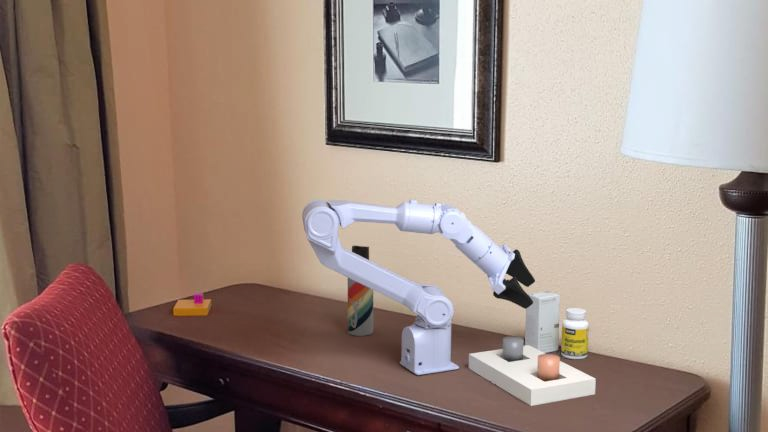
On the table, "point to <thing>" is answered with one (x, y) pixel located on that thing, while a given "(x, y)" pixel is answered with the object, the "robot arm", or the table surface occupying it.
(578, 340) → the supplement bottle
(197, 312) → the yellow slab with magenta
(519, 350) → the button far
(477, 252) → the robot arm
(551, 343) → the skincare box
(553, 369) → the button near
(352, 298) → the lotion bottle
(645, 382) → the table surface
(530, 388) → the white board with holes
